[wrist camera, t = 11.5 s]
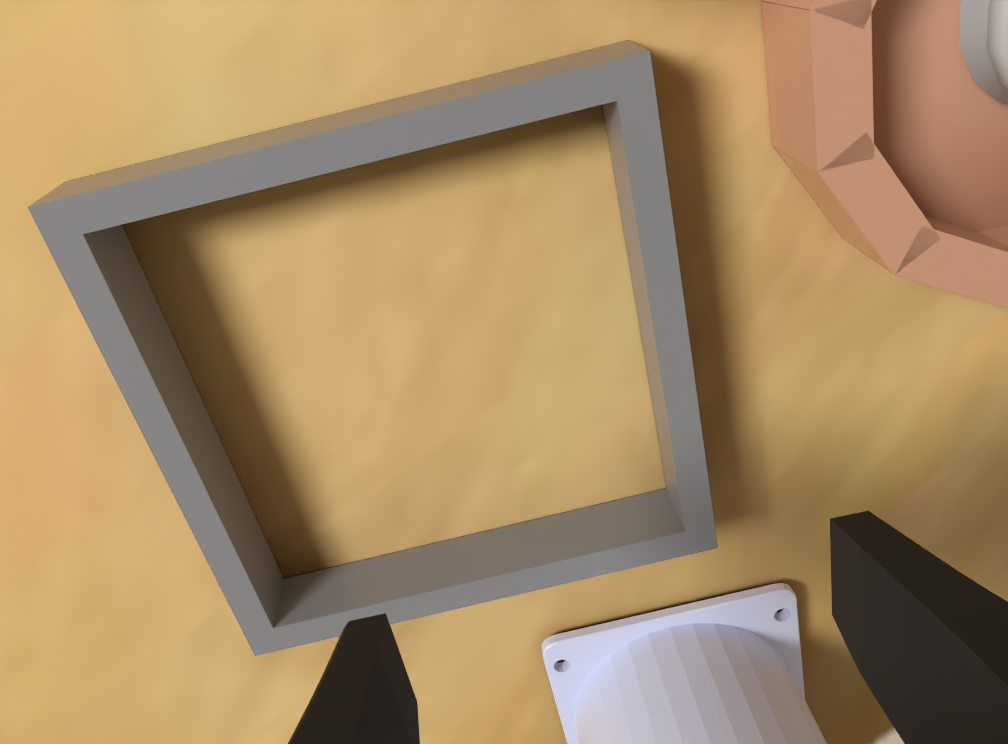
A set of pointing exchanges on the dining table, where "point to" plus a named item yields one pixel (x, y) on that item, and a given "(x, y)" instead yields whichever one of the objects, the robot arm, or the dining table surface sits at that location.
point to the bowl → (893, 136)
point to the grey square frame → (343, 144)
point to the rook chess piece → (986, 44)
